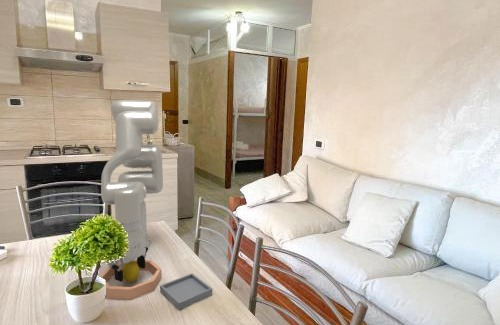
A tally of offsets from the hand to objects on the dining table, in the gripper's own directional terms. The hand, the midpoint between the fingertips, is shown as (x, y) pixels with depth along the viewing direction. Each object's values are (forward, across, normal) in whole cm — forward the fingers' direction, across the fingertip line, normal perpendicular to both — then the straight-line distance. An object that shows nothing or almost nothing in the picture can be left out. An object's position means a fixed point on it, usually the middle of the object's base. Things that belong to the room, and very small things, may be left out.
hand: (130, 273), depth 109 cm
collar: (+4, 0, 0) cm, 4 cm away
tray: (+4, +4, -20) cm, 20 cm away
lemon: (+4, 0, 0) cm, 4 cm away
